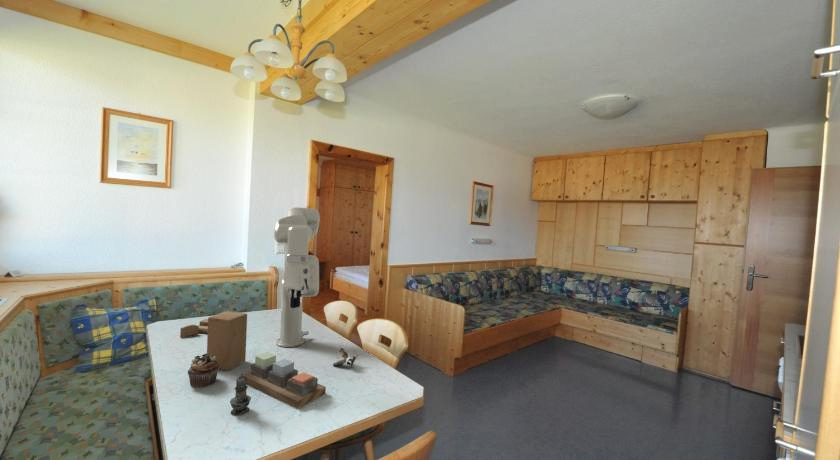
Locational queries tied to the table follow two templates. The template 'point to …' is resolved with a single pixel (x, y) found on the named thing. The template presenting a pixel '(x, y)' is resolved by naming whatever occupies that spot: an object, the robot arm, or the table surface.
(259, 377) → the console
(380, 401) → the table surface
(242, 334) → the wooden block
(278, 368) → the slate key
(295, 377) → the red key
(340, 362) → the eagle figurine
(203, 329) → the wooden block set
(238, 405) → the grey tall stone piece
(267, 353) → the sage key
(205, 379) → the cupcake
